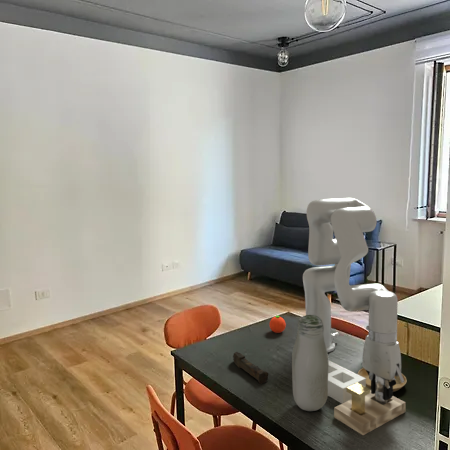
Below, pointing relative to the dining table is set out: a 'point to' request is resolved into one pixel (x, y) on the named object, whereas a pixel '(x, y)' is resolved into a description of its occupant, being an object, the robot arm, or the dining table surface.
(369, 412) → the socket block
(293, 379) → the glass bottle
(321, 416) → the dining table surface
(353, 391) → the gold square peg
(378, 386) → the clear glass vial
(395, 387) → the plant saucer
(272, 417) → the dining table surface
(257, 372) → the hand tool
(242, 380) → the dining table surface
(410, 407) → the dining table surface
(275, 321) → the clementine
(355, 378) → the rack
